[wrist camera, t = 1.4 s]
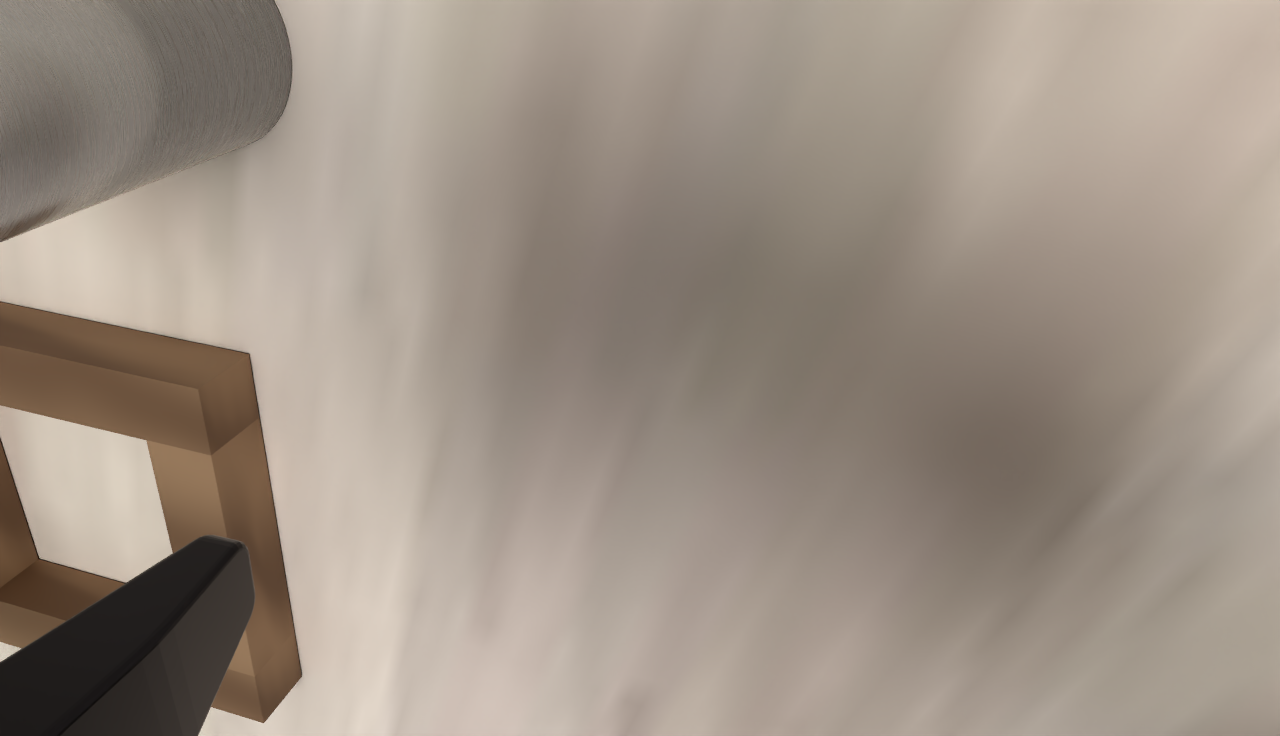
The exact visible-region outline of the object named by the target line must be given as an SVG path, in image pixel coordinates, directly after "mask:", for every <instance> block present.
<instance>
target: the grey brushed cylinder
mask: <svg viewBox="0 0 1280 736" xmlns="http://www.w3.org/2000/svg"><path fill="white" fill-rule="evenodd" d="M291 73H292V65H291V53H290V47H289V41H288V37H287V33H286V30H285V26H284V23H283V21H282V18H281V16H280V13H279V10H278V8H277V6H276V4H275V2H274V0H0V242H2V241H5V240H8V239H10V238H13V237H15V236H18V235H20V234H23V233H25V232H28V231H30V230H33V229H35V228H38V227H40V226H43V225H45V224H48V223H51V222H53V221H56V220H58V219H61V218H63V217H66V216H68V215H71V214H73V213H76V212H78V211H81V210H83V209H86V208H88V207H91V206H94V205H96V204H99V203H101V202H104V201H106V200H109V199H111V198H114V197H116V196H119V195H121V194H124V193H126V192H129V191H131V190H134V189H137V188H139V187H142V186H144V185H147V184H149V183H152V182H154V181H157V180H159V179H162V178H164V177H167V176H169V175H172V174H174V173H177V172H180V171H182V170H185V169H187V168H190V167H192V166H195V165H197V164H200V163H202V162H205V161H207V160H210V159H212V158H215V157H218V156H220V155H223V154H225V153H228V152H230V151H233V150H235V149H238V148H240V147H243V146H245V145H248V144H250V143H252V142H254V141H257V140H258V139H260V138H261V137H263V136H264V135H266V134H267V133H268V132H269V131H270V130H271V129H272V128H273V127H274V125H275V124H276V122H277V121H278V120H279V118H280V116H281V114H282V112H283V110H284V108H285V106H286V102H287V99H288V96H289V91H290V86H291Z"/></svg>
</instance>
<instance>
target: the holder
mask: <svg viewBox="0 0 1280 736" xmlns="http://www.w3.org/2000/svg"><path fill="white" fill-rule="evenodd" d="M0 405H2V406H6V407H10V408H15V409H19V410H23V411H27V412H31V413H35V414H40V415H44V416H48V417H52V418H56V419H60V420H65V421H69V422H73V423H77V424H81V425H85V426H90V427H94V428H98V429H102V430H106V431H110V432H115V433H119V434H123V435H127V436H131V437H136V438H140V439H144V440H147V445H148V449H149V453H150V458H151V462H152V466H153V470H154V475H155V479H156V483H157V487H158V492H159V496H160V500H161V504H162V509H163V513H164V517H165V522H166V526H167V530H168V534H169V539H170V543H171V547H172V551H173V553H174V552H176V551H178V550H179V549H181V548H182V547H184V546H186V545H187V544H189V543H190V542H192V541H193V540H195V539H197V538H199V537H201V536H204V535H216V536H221V537H225V538H230V539H234V540H238V541H241V542H243V543H244V544H245V545H246V546H247V547H248V551H249V555H250V562H251V568H252V574H253V581H254V587H255V604H254V609H253V612H252V615H251V617H250V620H249V622H248V624H247V627H246V629H245V631H244V633H243V636H242V638H241V640H240V642H239V645H238V647H237V649H236V651H235V654H234V656H233V658H232V660H231V663H230V665H229V667H228V669H227V672H226V674H225V676H224V678H223V681H222V683H221V685H220V687H219V690H218V692H217V694H216V696H215V699H214V701H213V703H212V705H211V707H213V708H216V709H220V710H223V711H226V712H229V713H233V714H236V715H239V716H242V717H245V718H249V719H252V720H255V721H258V722H262V723H264V722H265V721H266V720H267V719H268V717H269V716H270V715H271V714H272V712H273V711H274V710H275V709H276V708H277V706H278V705H279V704H280V703H281V701H282V700H283V699H284V698H285V696H286V695H287V694H288V693H289V692H290V690H291V689H292V688H293V687H294V685H295V684H296V683H297V682H298V680H299V679H300V678H301V677H302V675H301V669H300V663H299V657H298V651H297V645H296V639H295V633H294V627H293V621H292V614H291V608H290V602H289V596H288V590H287V584H286V578H285V572H284V566H283V560H282V553H281V547H280V541H279V535H278V529H277V523H276V517H275V511H274V505H273V499H272V492H271V486H270V480H269V474H268V468H267V462H266V456H265V450H264V444H263V438H262V431H261V425H260V419H259V413H258V407H257V401H256V395H255V389H254V383H253V377H252V370H251V364H250V358H249V354H246V353H242V352H237V351H232V350H227V349H222V348H218V347H213V346H208V345H203V344H199V343H194V342H189V341H184V340H179V339H175V338H170V337H165V336H160V335H155V334H151V333H146V332H141V331H136V330H132V329H127V328H122V327H117V326H112V325H108V324H103V323H98V322H93V321H89V320H84V319H79V318H74V317H69V316H65V315H60V314H55V313H50V312H45V311H41V310H36V309H31V308H26V307H22V306H17V305H12V304H7V303H2V302H0ZM124 584H125V583H121V582H118V581H114V580H110V579H107V578H103V577H100V576H96V575H93V574H89V573H86V572H82V571H79V570H75V569H71V568H68V567H64V566H61V565H57V564H54V563H50V562H47V561H43V560H40V559H38V556H37V553H36V550H35V547H34V544H33V541H32V538H31V535H30V532H29V528H28V525H27V522H26V519H25V516H24V513H23V510H22V507H21V504H20V501H19V498H18V494H17V491H16V488H15V485H14V482H13V479H12V476H11V473H10V470H9V467H8V463H7V460H6V457H5V454H4V451H3V448H2V445H1V442H0V642H3V643H6V644H10V645H13V646H16V647H19V648H24V647H25V646H27V645H28V644H30V643H32V642H33V641H35V640H36V639H38V638H40V637H41V636H43V635H44V634H46V633H48V632H49V631H51V630H52V629H54V628H55V627H57V626H59V625H60V624H62V623H63V622H65V621H67V620H68V619H70V618H71V617H73V616H74V615H76V614H78V613H79V612H81V611H82V610H84V609H86V608H87V607H89V606H90V605H92V604H94V603H95V602H97V601H98V600H100V599H101V598H103V597H105V596H106V595H108V594H109V593H111V592H113V591H114V590H116V589H117V588H119V587H120V586H122V585H124Z"/></svg>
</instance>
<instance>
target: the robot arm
mask: <svg viewBox="0 0 1280 736" xmlns="http://www.w3.org/2000/svg"><path fill="white" fill-rule="evenodd" d="M254 604H255V587H254V581H253V574H252V568H251V562H250V555H249V551H248V547H247V546H246V545H245V544H244V543H243V542H241V541H238V540H234V539H230V538H225V537H221V536H216V535H204V536H201V537H199V538H197V539H195V540H193V541H192V542H190V543H189V544H187V545H186V546H184V547H182V548H181V549H179V550H178V551H176V552H174V553H173V554H171V555H170V556H168V557H167V558H165V559H163V560H162V561H160V562H159V563H157V564H155V565H154V566H152V567H151V568H149V569H147V570H146V571H144V572H143V573H141V574H140V575H138V576H136V577H135V578H133V579H132V580H130V581H128V582H127V583H125V584H124V585H122V586H120V587H119V588H117V589H116V590H114V591H113V592H111V593H109V594H108V595H106V596H105V597H103V598H101V599H100V600H98V601H97V602H95V603H94V604H92V605H90V606H89V607H87V608H86V609H84V610H82V611H81V612H79V613H78V614H76V615H74V616H73V617H71V618H70V619H68V620H67V621H65V622H63V623H62V624H60V625H59V626H57V627H55V628H54V629H52V630H51V631H49V632H48V633H46V634H44V635H43V636H41V637H40V638H38V639H36V640H35V641H33V642H32V643H30V644H28V645H27V646H25V647H24V648H22V649H21V650H19V651H17V652H16V653H14V654H13V655H11V656H9V657H8V658H6V659H5V660H3V661H1V662H0V736H198V735H199V732H200V730H201V728H202V726H203V723H204V721H205V719H206V717H207V714H208V712H209V710H210V708H211V705H212V703H213V701H214V699H215V696H216V694H217V692H218V690H219V687H220V685H221V683H222V681H223V678H224V676H225V674H226V672H227V669H228V667H229V665H230V663H231V660H232V658H233V656H234V654H235V651H236V649H237V647H238V645H239V642H240V640H241V638H242V636H243V633H244V631H245V629H246V627H247V624H248V622H249V620H250V617H251V615H252V612H253V609H254Z"/></svg>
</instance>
